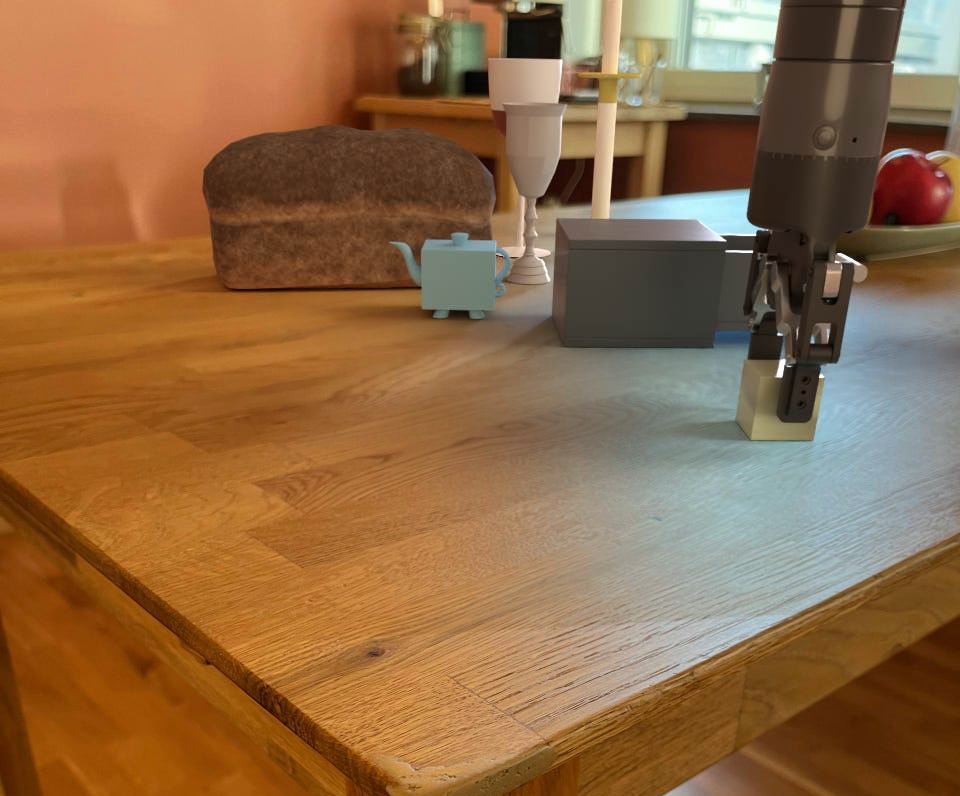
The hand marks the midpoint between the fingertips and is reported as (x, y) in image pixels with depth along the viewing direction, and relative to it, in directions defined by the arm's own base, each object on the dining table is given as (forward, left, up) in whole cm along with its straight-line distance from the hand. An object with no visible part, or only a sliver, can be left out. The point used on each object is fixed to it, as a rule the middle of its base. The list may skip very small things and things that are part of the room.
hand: (775, 402), depth 71 cm
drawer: (-6, -29, -1) cm, 30 cm away
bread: (+34, -53, -2) cm, 63 cm away
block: (0, 0, -2) cm, 2 cm away
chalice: (+14, -53, -2) cm, 55 cm away
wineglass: (+14, -71, -2) cm, 72 cm away
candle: (+2, -84, -2) cm, 84 cm away
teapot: (+23, -36, -2) cm, 43 cm away
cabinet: (+6, -29, -2) cm, 30 cm away
